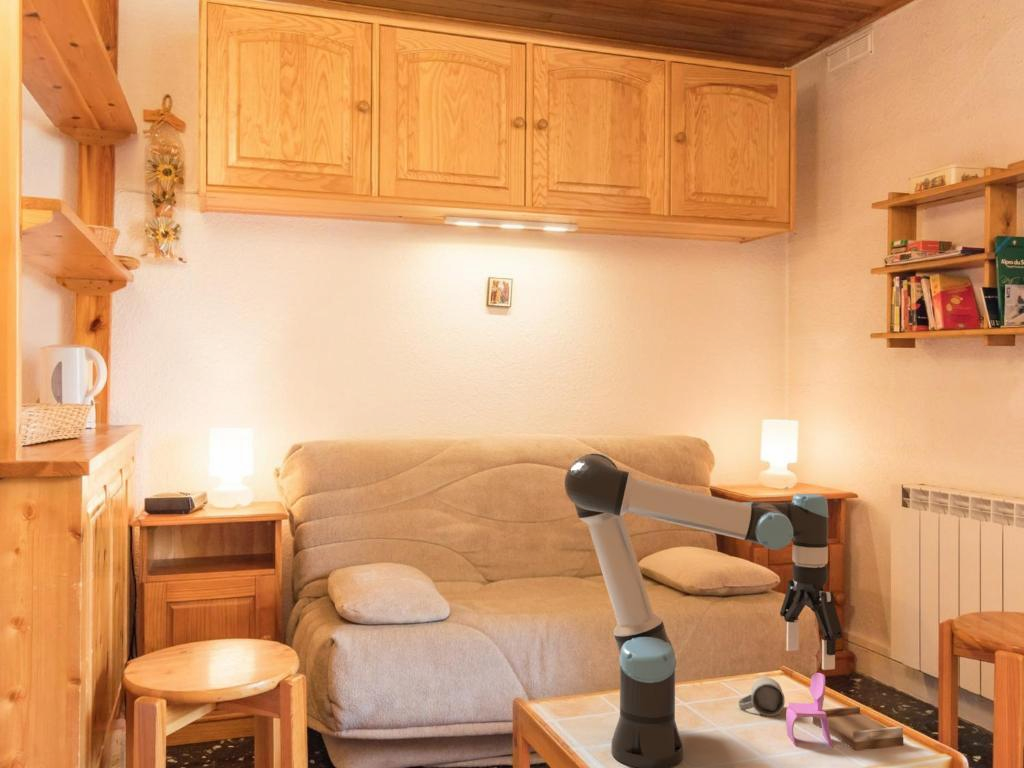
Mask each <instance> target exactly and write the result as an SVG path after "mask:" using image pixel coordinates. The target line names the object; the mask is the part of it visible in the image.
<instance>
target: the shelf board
mask: <svg viewBox="0 0 1024 768" xmlns="http://www.w3.org/2000/svg"><path fill="white" fill-rule="evenodd" d="M822 710H823V711H824V712H825V713H826V718H827V719H828V724H829V733H830V736H832V735H833V737H834V736H835V737H836V739H837V738H838V741H840V740H841V743H843V742H844V743H843V744H845V743H846V744H847V746H848V745H849V746H848V747H850V748H851V747H852V748H851V749H852V750H855V751H856V752H857V751H866V749H867V750H874V749H882V748H892V747H902V746H904V730H903V729H904V728H903V727H902V726H893V727H892V726H891V727H886V726H884V725H883V724H881V723H879V722H878V721H875V720H874V719H873V718H870V717H869V716H867V715H865V714H864V713H862V712H861V707H860V706H858V705H857V706H847V707H835V708H828V709H822ZM812 723H813V725H815V724H816V726H817V727H818V726H819V727H818V728H819V729H821V728H822V724H821V719H820V718H817V717H812ZM835 737H834V738H835ZM846 744H845V745H846Z"/></svg>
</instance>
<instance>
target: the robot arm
mask: <svg viewBox="0 0 1024 768" xmlns="http://www.w3.org/2000/svg"><path fill="white" fill-rule="evenodd" d="M564 490H565V493H566V496H567V497H568V499H569V500H570V501H571V502H572V503H573V505H574V508H575V510H576V513H577V517H578V519H579V520H580V521H582V522H584V523H585V524H586V525H587V527H588V531H589V534H590V537H591V540H592V543H593V548H594V551H595V553H596V556H597V557H596V558H597V560H598V564H599V567H600V570H601V573H602V577H603V580H604V583H605V587H606V589H607V593H608V596H609V600H610V603H611V607H612V610H613V613H614V617H615V619H616V623H617V624H616V626H615V628H614V630H613V635H614V639H615V643H616V646H617V650H618V652H619V656H618V657H619V658H618V659H619V661H618V662H619V666H620V667H619V718H618V721H617V724H616V727H615V730H614V732H613V735H612V738H611V755H612V757H613V758H614V759H615V760H616V761H618V762H620V763H622V764H624V765H627V766H630V767H633V768H671V767H674V766H676V765H678V764H680V763H681V762H682V761H683V758H684V746H683V742H682V738H681V736H680V733H679V730H678V729H679V728H678V726H677V723H676V714H675V710H676V667H677V658H676V653H675V650H674V647H673V644H672V642H671V640H670V638H669V637H668V634H667V632H666V631H667V630H666V628H665V624H664V621H663V618H662V617H660V616H659V615H657V614H656V613H654V611H653V608H652V605H651V601H650V598H649V595H648V592H647V588H646V585H645V582H644V579H643V575H642V571H641V568H640V565H639V562H638V559H637V555H636V552H635V548H634V546H633V543H632V539H631V536H630V532H629V529H628V525H627V523H626V520H625V516H624V515H625V514H631V515H636V516H641V517H644V518H648V519H653V520H656V521H662V522H665V523H670V524H675V525H679V526H682V527H686V528H691V529H696V530H701V531H704V532H710V533H713V534H717V535H721V536H725V537H730V538H736V539H740V540H744V541H746V542H750V543H751V542H752V543H755V544H760V545H761V546H762V547H764V548H766V549H769V550H774V551H775V550H781V549H784V548H786V547H787V546H788V545H790V543H791V542H792V553H791V557H792V559H791V560H792V562H793V564H792V579H788V581H787V589H786V592H785V593H786V594H785V595H784V600H783V603H782V605H781V608H780V612H779V615H780V617H783V619H784V621H785V632H786V633H785V634H786V647H785V648H786V651H787V652H794V651H795V652H796V651H799V648H800V647H799V646H800V645H799V644H800V643H799V640H800V636H799V635H800V634H799V633H800V632H799V631H800V630H799V629H800V622H799V621H800V619H799V616H800V615H801V613H802V611H803V610H804V608H805V606H806V607H808V608H810V610H811V611H812V612H813V613H814V615H815V618H816V620H817V621H818V625H819V627H820V629H821V632H822V635H823V637H822V638H821V669H822V670H824V671H827V670H835V669H836V653H837V651H836V650H837V647H836V646H837V640H841V639H843V638H844V635H843V630H842V627H841V623H840V619H839V615H838V612H837V608H836V605H835V595H834V592H833V591H825V590H824V589H825V588H824V586H825V584H827V583H828V582H829V567H828V566H827V564H828V562H829V561H828V560H829V549H828V547H829V518H830V516H829V505H828V499H827V497H825V496H824V495H822V494H817V493H796V494H794V495H793V496H792V500H791V502H760V501H757V502H756V501H750V502H749V501H748V502H746V501H745V502H738V501H735V500H729V499H725V498H721V497H717V496H712V495H708V494H704V493H700V492H694V491H690V490H685V489H684V488H683V489H682V488H677V487H673V486H669V485H664V484H660V483H657V482H656V483H655V482H653V481H648V480H647V481H646V480H643V479H639V478H635V477H634V476H633V475H632V472H629V471H625V470H620V469H618V466H617V465H616V464H615V463H614V461H613V460H612V459H610V458H609V457H608V456H606V455H604V454H600V453H590V454H585V455H581V456H580V457H578V458H577V459H576V460H574V462H573V463H572V464H571V466H570V467H569V468H568V470H567V471H566V473H565V476H564Z"/></svg>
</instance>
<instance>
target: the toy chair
mask: <svg viewBox="0 0 1024 768" xmlns="http://www.w3.org/2000/svg"><path fill="white" fill-rule="evenodd" d="M809 693H810V694H811V696H812V697H813V702H808V703H807V702H806V703H805V702H804V703H801V702H788V706H787V708H786V711H785V712H786V713H785V717H786V718H785V719H786V720H785V721H786V722H785V723H786V725H785V726H786V734H787V737H788V738H789V740H790V741H791V743H792V742H793V743H792V744H793V746H794V745H795V746H797V747H798V745H797V743H796V742H797V741H796V740H795V735H794V725H795V723H796V721H797V719H799V718H800V719H801V718H813V717H817V718H820V719H821V724H822V729H821V730H822V737H823V736H824V737H823V738H824V739H825V741H826V740H827V741H828V742H827V741H826V742H827V743H828V745H829V744H830V745H831V746H832V747H831V746H830V745H829V746H830V747H831V748H834V744H833V742H832V738H831V734H830V733H829V724H828V719H827V718H826V713H825V712H824V711H823V710H824V709H823V708H824V707H823V706H824V699H825V693H826V675H825V674H824V673H821V672H815V673H813V674H812V676H811V679H810V687H809ZM795 746H794V747H795Z"/></svg>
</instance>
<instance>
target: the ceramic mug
mask: <svg viewBox="0 0 1024 768" xmlns="http://www.w3.org/2000/svg"><path fill="white" fill-rule="evenodd" d="M785 702H786V701H785V695H784V692H783V689H782V687H781V685H780V684H779V682H778V681H776V680H775V679H773V678H771V677H760V678H758V679H757V680H756V681H755V682H754V683H753V685H752V687H751V693H750V694H748V695H746V696H743V697H742V698H740V699H739V700H738V701H737V703H738V706H739V707H738V708H739V709H740V710H743V711H745V710H751V709H753V708H754V710H755V711H756V712H757V713H759V714H760V715H762V716H765V717H773V716H776V715H779V714H780V713H781V711H783V709H784V706H785Z"/></svg>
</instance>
